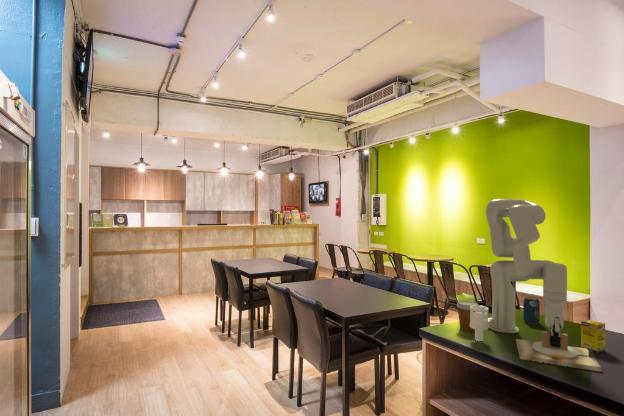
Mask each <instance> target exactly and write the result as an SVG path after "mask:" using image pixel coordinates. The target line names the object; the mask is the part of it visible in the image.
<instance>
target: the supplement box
mask: <svg viewBox="0 0 624 416" xmlns="http://www.w3.org/2000/svg"><path fill="white" fill-rule="evenodd" d="M580 348H586V349H587V350H588V348H593V353H595V354H598V353H602V352H605V351H606V323H605V322H601V321H597V320H592V319H588V320H587V319H586V320H581V323H580Z"/></svg>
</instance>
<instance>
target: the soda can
mask: <svg viewBox="0 0 624 416" xmlns="http://www.w3.org/2000/svg"><path fill="white" fill-rule="evenodd" d="M540 303H541V302H540V300H539V298H538V297H533V296H525V297H524V299H523V307H522V308H523V309H522V310H523V311H522V312H523V315H522V316H523V317H522V319H523V321H524V323H527V324H531V325H538V324H539V322H540V320H541V319H540V318H541V317H540V309H541V307H540V306H541V304H540Z"/></svg>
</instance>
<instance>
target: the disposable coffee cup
mask: <svg viewBox="0 0 624 416" xmlns="http://www.w3.org/2000/svg"><path fill="white" fill-rule="evenodd" d="M473 305H477V306H479V304H478V302H474V301H469V300H468V301H467V300H460V301H459V300H458V302H457V304H456V307H457V311H458V322H459V329H460V330H462V331H464V332H475V329H473V328H471V327H470V306H473ZM476 309H479V308H476ZM473 312H476V311H473Z"/></svg>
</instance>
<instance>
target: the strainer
mask: <svg viewBox="0 0 624 416" xmlns="http://www.w3.org/2000/svg"><path fill="white" fill-rule="evenodd" d="M476 308H478V309H476ZM473 311H476V312H473ZM488 319H489V307H487V306H485V305H480V304H478V306H477V305H473V306H470V327H471V328H473V329H475V331H474V341H475V340H476V341H475V342H477V341H483V342H484V338H483V337H484V331H487V330H489V327H488V325H489V323H488Z"/></svg>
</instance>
